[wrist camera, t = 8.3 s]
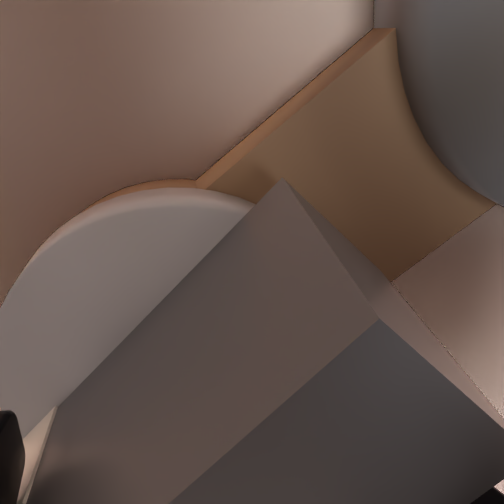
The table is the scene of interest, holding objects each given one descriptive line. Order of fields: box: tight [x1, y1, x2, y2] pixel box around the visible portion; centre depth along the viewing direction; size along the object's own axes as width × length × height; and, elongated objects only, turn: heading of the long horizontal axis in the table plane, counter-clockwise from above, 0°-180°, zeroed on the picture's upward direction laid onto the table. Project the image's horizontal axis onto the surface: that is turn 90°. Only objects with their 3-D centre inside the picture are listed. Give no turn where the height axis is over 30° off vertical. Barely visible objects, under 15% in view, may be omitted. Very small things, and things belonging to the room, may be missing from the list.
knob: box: [0, 178, 504, 504], centre depth 7 cm, size 8×6×5 cm
